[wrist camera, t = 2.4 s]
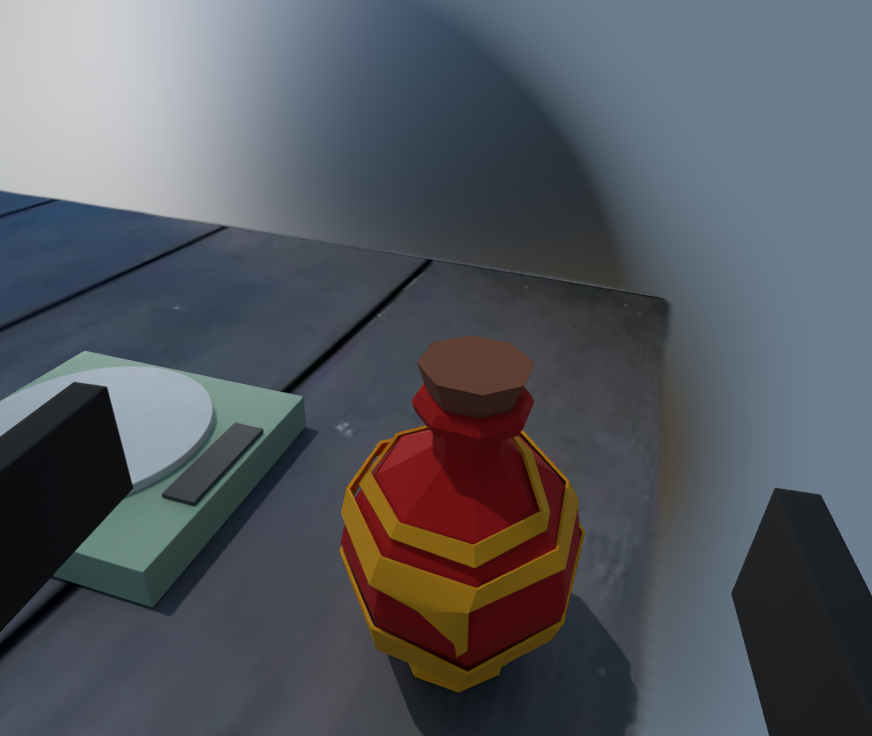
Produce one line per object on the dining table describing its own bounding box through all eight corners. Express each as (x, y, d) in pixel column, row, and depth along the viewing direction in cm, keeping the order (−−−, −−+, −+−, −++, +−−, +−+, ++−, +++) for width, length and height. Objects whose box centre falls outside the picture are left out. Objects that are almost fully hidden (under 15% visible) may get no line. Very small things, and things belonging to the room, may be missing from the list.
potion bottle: (605, 634, 30) (677, 363, 23) (467, 809, 23) (505, 507, 16) (441, 524, 36) (455, 280, 28) (294, 638, 29) (261, 359, 22)
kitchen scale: (306, 426, 44) (303, 388, 42) (152, 608, 30) (140, 563, 29) (92, 379, 48) (82, 343, 46) (-125, 520, 35) (-149, 477, 33)
